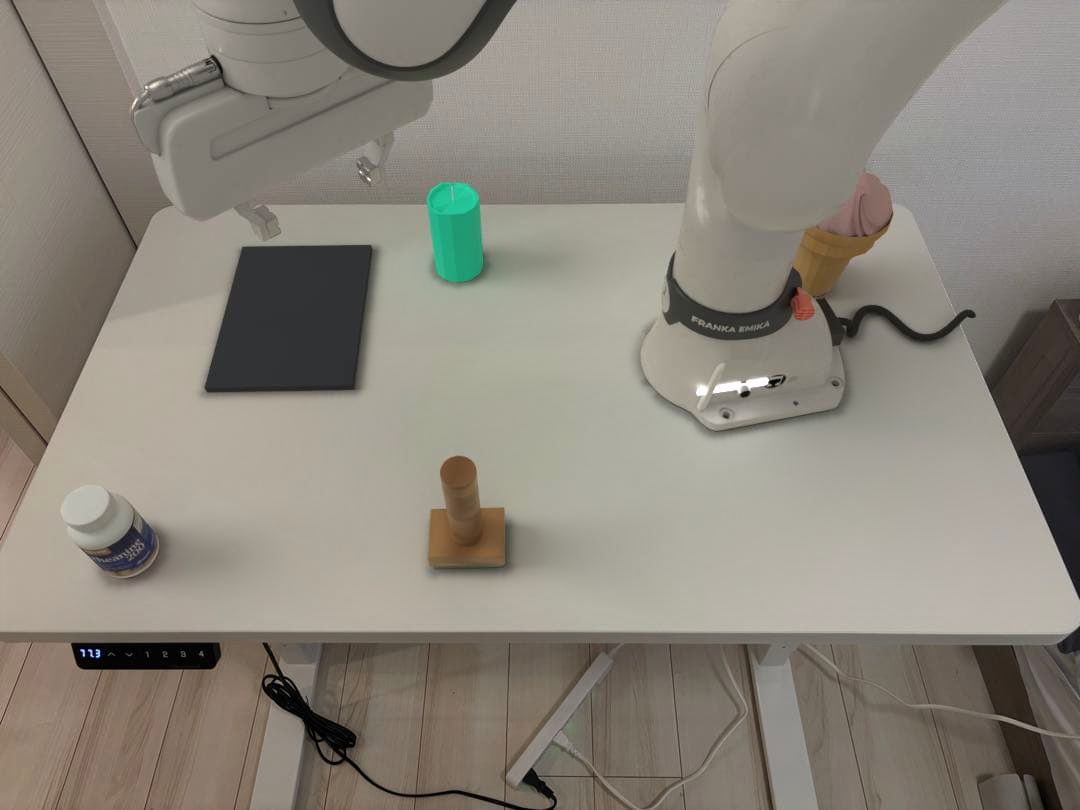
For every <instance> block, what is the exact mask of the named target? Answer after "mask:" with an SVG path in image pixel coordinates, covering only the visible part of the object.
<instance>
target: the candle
mask: <svg viewBox="0 0 1080 810" xmlns="http://www.w3.org/2000/svg"><path fill="white" fill-rule="evenodd" d="M426 205H427V212H428V220H429V227H430V233H431V234H430V235H431V244H432V250H433V258H434V265H435V266H434V267H435V269H436V273H437V275H439V276H440V277H441V278H442V279H444V280H445V281H449V282H453V283H463V282H468V281H472V280H473V279H474V278H477V277H478V276H479V275H480V274H481V272H482V270H483V268H484V264H485V263H484V250H483V249H484V248H483V233H482V220H481V219H482V217H481V201H480V196H479V194H478V192H477V190H475V189H474V188H473V186H471V185H470V184H469V183H466V182H465V183H463V182H440V183H439V184H438V185H435V186H434V187H432V188H431V189H430V190H429V192H428V195H427V196H426Z"/></svg>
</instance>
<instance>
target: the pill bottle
mask: <svg viewBox="0 0 1080 810" xmlns="http://www.w3.org/2000/svg"><path fill="white" fill-rule="evenodd" d="M60 515H61V518H62V520H63V521H64V522H65V523H66V524H67V525H66V529H67V535H68V537H69V539H70V540H71V541H72V543H74V544H75V545H76V547H78V548H79V549H80V550H81V551H82V552H83V553H84V554H85V555H86V556H87V557H89V559H91V560H92V562H94V563H95V564H96V565H97V566H98V567H99V568H100V569H101V570H102V571H103V572H105V573H106V575H108V576H110V577H112V578H116V579H127V578H132V577H135V576H138V575H140V574H141V573H143V572H144V571H146V570H147V569H149V568H150V567H151V565H153V563H154V561H155V560H156V558H157V556H158V554H159V551H160V540H159V537H158V535H157V534H156V532H155V531H154V530H153V528H152V527H151V525H149V524H148V522H147V521H146V520H145V519H144V518H143V517H142V515H141V514H140V513H139V512H138V511H137V509H136V508H135V507H134V506H133V504H131V502H130V501H129V500H128V499H127V498H126V497H125V496H124V495H123V496H122V495H121V494H119V493H116V492H111V491H109V490H108V489H106V487H104V486H102V485H99V484H84V485H81V486H79V487H77V488H76V489H74V490H72V491H71V492H70V493H69V494H68V495H67V496H66V497H65V498H64V500H63V501H62V503H61V506H60Z"/></svg>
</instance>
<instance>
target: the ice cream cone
mask: <svg viewBox="0 0 1080 810" xmlns="http://www.w3.org/2000/svg"><path fill="white" fill-rule="evenodd" d="M893 218H894V208H893V201H892V197H891V193H890V190H889V187H888V186H887V185H885V184H883V183H882V182H881V180H880V178H879V177H878V176H877V175H875V174H873V173H870V172H867V170H866V166H865V167H864V170H863V172H862V174H861V177H860V179H859V182H858V184H857V187H856V189H855V191H854V194H853V195H852V197H851V199H850V200H849V201H848V203H847V204H846V205H845V206H844V207H843V208H842V209H841V210H840V211H839V212H838V213H837V214H836V215H834V216H833V217H832V218H830V219H829V220H827V221H825V222H824V223H822V224H820V225H818V226H815V227H813V228H810V229H807V230H806V231H805V234H804V236H803V239H802V242H801V244H800V247H799V250H798V253H797V255H796V258H795V261H794V263H793V264H794V268H795V269H796V270H797V271H798V272H799V274H800V276H801V279H802V283H803V285H802V288H801V290H803V291H806V292H807V293H809V294H810V295H811V296H812V297H819V296H823V295H825V294H826V293H828V292H829V291H831V290H832V289H833V288H834V287H835V286H836V285H837V282H838V281H839V279H840V278H841V276H842V275H843V273H844V271H845V270H846V269H847V266H848V265H849V263H850V261H851V260H852V259H854V258H855V257H858V256H862V255H865V254H866V253H868V252H869V251H870V250H871V249H872V248H873V247H874V245H875V242H877V241H878V240H879V239H881V237H883V236H884V235H885V234H886V233H887V232H888V230H889V228H890V226H891V223H892V221H893Z"/></svg>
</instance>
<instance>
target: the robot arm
mask: <svg viewBox="0 0 1080 810" xmlns="http://www.w3.org/2000/svg"><path fill="white" fill-rule="evenodd" d="M517 1H518V0H191V3H192V5H193V9H194V12H195V15H196V19H197V21H198V24H199V28H200V31H201V33H202V37H203V39H204V43H205V45H206V49H207V52H208V54H209V57H207V58H203V59H202V60H199V61H196V62H194V63H191V64H189V65H187V66H185V67H183V68H181V69H180V70H178V71H176V72H173V73H172V74H169V75H166V76H164V75H162V76H158V77H155V78H153V79H150V80H149V81H147V82H146V83H145V84H144V85H143V90H144V91H142V92H141V93H140V94H139V95H137V97H136V98H135V99H134V101H133V102H132V105H131V107H130V109H129V118H130V123H131V126H132V128H133V130H134V132H135V135H136V136H137V139H138V141H139V143H140V145H141V146H142V147H143V148H144V149H145V150H146V151H148V152H149V153H150V157H151V160H152V163H153V167H154V170H155V173H156V176H157V179H158V182H159V184H160V187H161V190H162V191H163V193H164V195H165V196H166V198H167V199H168V200H169V201H170V203H171V204H172V205H173V206H174V207H175V209H176V210H178V212H180V214H182V215H183V216H185V217H186V218H189V219H192V220H194V221H197V222H199V223H201V222H205V221H208V220H211V219H213V218H214V217H216V216H219V215H221V214H223V213H225V212H227V211H229V210H231V209H233V210H234V211H235V212H236V213H237V214H238V215H239V216H241V217H242V218H244V219H245V220H247V221H248V222H249V224H250V227H251V229H252V231H253V232H254V234H255V235H256V236H257V237H258V238H259V239H260V240H261V241H262V242H263V243H265V242H267V241H268V240H270V239H272V238H275V237H276V236H279V235H280V234H281V233H282V229H281V227H279V225H280V224H279V220H278V216H276V214H274V212H272V211H270V209H269V208H268V207H267V206H266V205H265V204H262V205H260V206H258V204H257V200H256V197H258V196H260V195H262V194H264V193H267V192H269V191H271V190H273V189H275V188H277V187H279V186H281V185H283V184H285V183H287V182H290V181H292V180H294V179H296V178H297V177H300V176H302V175H304V174H306V173H308V172H310V171H312V170H314V169H317V168H318V167H321V166H323V165H325V164H327V163H329V162H332V161H333V160H336V159H337V158H340V157H342V156H344V155H346V154H348V153H350V152H353V151H354V150H356V149H359V148H360V147H362V146H364V145H365V149H364V153H363V155H362V156H360V157H359V158H357V159H355V164H356V167H357V169H358V171H357V174H358V177H359V179H360V180H361V181H362V182H363V183H364V184H366V186H367V187H369V188H373V187H375V186H376V185H379V184H381V183H384V182H385V181H387V172H386V166H385V164H386V163H387V160H388V157H389V155H390V153H391V150H392V147H393V145H394V143H395V133H394V131H396V130H398V129H400V128H402V127H404V126H406V125H409V124H410V123H412V122H414V121H415V122H416V121H417V120H419V119H421V118H423V117H425V116H426V115H427V114H428V112H429V110H430V107H431V105H432V104H433V100H434V84H433V80H435V79H439V78H442V77H445V76H448V75H451V74H452V73H454V72H455V73H456V71H458V70H460V69H462V68H463V67H465V66H466V65H468V64H469V63H470V62H471V61H473V60H474V59H475V58H476V57H477V56H478V55H479V54H480V53H481V52H482V51H483V50H484V49H485V47H486V46H487V45H488V43H489V42H490V41H491V40H492V38H493V37H494V35H495V34H496V32H497V31H498V29H499V28H500V26H501V25H502V23H503V22H504V21H505V19H506V17H507V15H508V14H509V13H510V11H511V10H512V8H513V7H514V6H515V4H516V3H517ZM1008 2H1010V0H725V2H724V3H723V5H722V8H721V9H720V12H719V13H718V15H717V19H716V22H715V25H714V27H713V31H712V34H711V37H710V41H709V46H708V50H707V56H706V62H705V68H704V74H703V80H702V87H701V93H700V99H699V106H698V112H697V119H696V125H695V132H694V138H693V139H694V141H693V147H692V154H691V160H690V167H689V175H688V176H689V177H688V183H687V192H686V193H687V194H686V198H685V203H684V208H683V214H682V218H681V223H680V228H679V233H678V239H677V244H676V248H675V250H674V252H673V253H672V255H671V257H670V260H669V263H668V266H667V270H666V274H665V276H664V278H663V279H664V280H663V285H662V290H661V297H660V307H661V308H660V311H659V312H658V315H657V318H656V319H655V322H654V324H653V326H652V327H651V328H650V330H649V332H648V333H647V335H646V336H645V338H644V339H643V341H642V344H641V347H640V353H639V357H640V359H639V361H640V365H641V370H642V372H643V374H644V376H645V378H646V380H647V381H648V383H649V384H650V386H651V387H652V388H653V389H654V390H655V391H656V392H657V393H658V394H659V395H660V396H661V397H663V398H664V399H666V400H667V401H669V402H670V403H672V404H674V405H676V406H677V407H679V408H682V409H684V410H686V411H688V412H689V413H691V414H692V415H693V416H694V417H695V418H696V419H697V420H698V421H699V422H700V423H701V424H702V425H703V426H704V427H705V428H707V429H708V430H710V431H715V432H720V431H726V430H731V429H736V428H741V427H746V426H747V427H748V426H752V425H757V424H763V423H766V422H773V421H778V420H783V419H789V418H794V417H800V416H803V415H808V414H809V415H810V414H815V413H819V412H824V411H830V410H834V409H836V408H838V406H839V404H840V403H841V400H842V398H843V394H844V391H845V384H846V376H845V368H844V363H843V359H842V356H841V352H840V349H839V347H838V346H840V345H841V343H842V341H843V340H844V337H845V335H846V336H847V337H848V338H854V337H855V336H856V335H857V334H858V332H859V327H860V326H861V325H860V324H861V322H862V320H863V317H864V316H865V315H866V314H868V313H875V314H879V315H881V316H882V317H884V318H885V319H886V320H887V321H889V322H890V323H891V324H892V325H893V326H894V327H895V328H896V329H897V330H898V331H899V332H900V333H902V334H903V335H905V336H906V337H908V338H910V339H911V340H914V341H917V342H925V343H926V342H928V343H929V342H934V341H938V340H940V339H942V338H944V337H946V336H948V335H949V334H951V333H952V332H953V331H954V330H956V329H957V327H958V326H960V324H961V323H962V322H963V321H965V320H966V319H967V318H969V319H975V318H976V317H977V313H976V312H975V311H974V310H972V309H967V308H965V309H964V310H962V311H960V312H959V313H958V314H957V315H956V316H955V317H954V318H953V319H952V320H951V321H950V322H948V324H947V325H946V326H944V327H942V328H941V329H940V330H938V331H936V332H935V331H934V332H932V333H921V332H918V331H916V330H913V329H912V328H910V327H909V326H908V325H906V323H904V322H903V321H902V320H901V319H900V318H899V317H898V316H897V315H896V314H894V313H893V312H892V311H891V310H889V309H887V308H886V307H884V306H882V305H878V304H867V305H864V306H862V307H860V308H859V309H858V310H857V311H856V312H855V314H854V315H853V318H852V319H850V318H847V317H841V316H837V314H836V312H834V310H833V308H832V307H831V305H830V304H829V301H828V300H827V299H826V297H821V298H814V296H811V295H810V294H809V293H807V292H806V291H803V290H801V288H802V285H803V283H802V279H801V276H800V274H799V272H798V271H797V270H796V269H795V268H794V264H793V263H794V261H795V258H796V255H797V253H798V250H799V247H800V244H801V242H802V239H803V236H804V234H805V231H806V230H807V229H810V228H813V227H815V226H818V225H820V224H822V223H824V222H825V221H827V220H829V219H830V218H832V217H833V216H834V215H836V214H837V213H838V212H839V211H840V210H841V209H842V208H843V207H844V206H845V205H846V204H847V203H848V201H849V200H850V199H851V197H852V195H853V194H854V191H855V189H856V187H857V184H858V182H859V179H860V177H861V174H862V172H863V170H864V167H865V168H866V164H868V161H869V160H870V157H871V156H872V154H873V153H874V150H875V149H876V147H877V146H878V144H879V142H881V140H882V138H883V137H884V135H885V134H886V133H887V131H888V130H889V129H890V127H891V125H892V124H893V123H894V122H895V120H897V118H898V117H899V116H900V114H901V113H902V112H903V110H904V109H905V108H906V107H907V106H908V104H909V103H910V102H911V100H912V99H913V98H914V97H915V95H916V94H917V93H918V91H919V90H920V89H921V88H922V87H923V86H924V84H926V82H927V81H928V79H929V78H930V77H931V76H932V75H933V74H934V73H935V71H936V70H937V69H938V68H939V67H940V65H942V63H943V62H944V61H945V60H946V59H947V57H949V55H951V54H952V52H953V51H955V50H956V48H958V46H959V45H960V44H961V43H962V42H963V41H964V40H966V39H967V38H968V37H969V36H970V35H971V34H972V33H973V32H974V31H975V30H976V29H977V28H979V27H980V26H981V25H982V24H983V23H984V22H985V21H987V20H988V19H989V18H991V17H992V16H993V15H995V13H997V11H999V10H1000V9H1002V8H1003V7H1004V5H1006V4H1008ZM257 206H258V207H257ZM845 327H846V329H845Z"/></svg>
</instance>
